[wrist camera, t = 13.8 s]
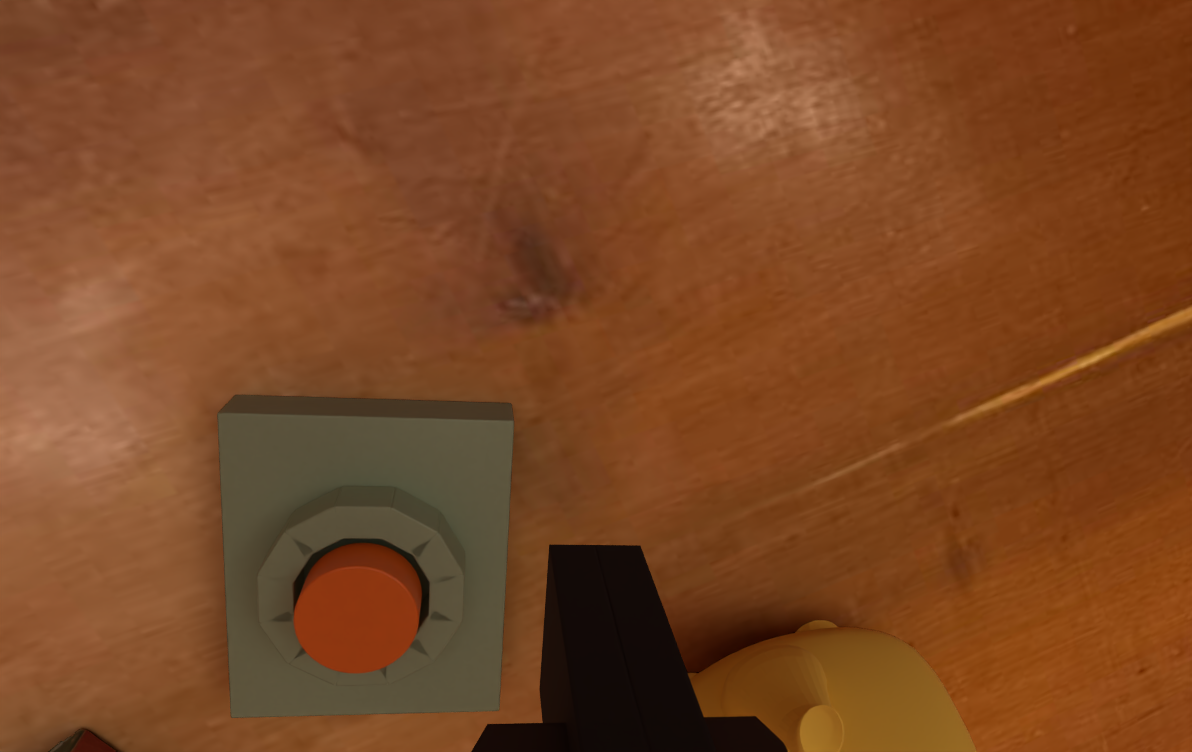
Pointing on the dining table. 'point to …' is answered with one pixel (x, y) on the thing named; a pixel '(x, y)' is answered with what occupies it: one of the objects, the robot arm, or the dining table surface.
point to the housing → (365, 515)
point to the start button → (358, 608)
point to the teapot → (836, 692)
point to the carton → (82, 743)
